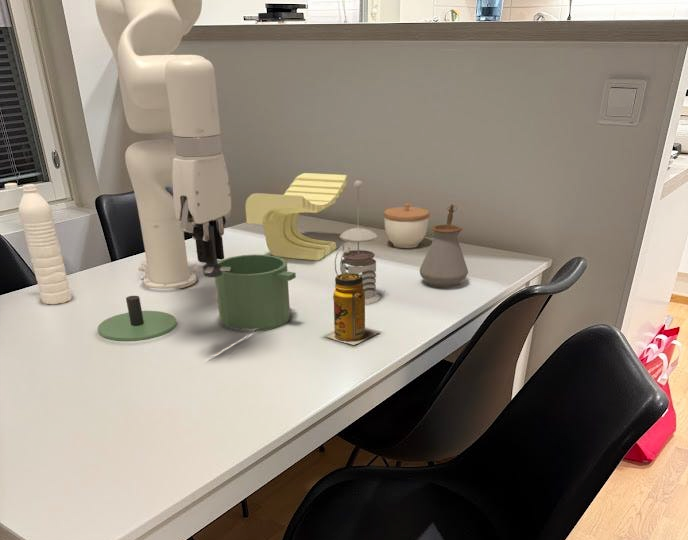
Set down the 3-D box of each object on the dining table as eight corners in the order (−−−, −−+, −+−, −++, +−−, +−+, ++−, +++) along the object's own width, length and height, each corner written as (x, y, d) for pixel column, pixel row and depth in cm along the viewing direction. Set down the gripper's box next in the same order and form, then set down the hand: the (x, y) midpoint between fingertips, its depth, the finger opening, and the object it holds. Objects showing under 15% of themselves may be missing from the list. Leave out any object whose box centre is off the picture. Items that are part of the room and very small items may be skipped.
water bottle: (77, 296, 158) (51, 181, 144) (62, 305, 152) (33, 187, 139) (43, 294, 159) (14, 181, 146) (27, 303, 154) (-5, 186, 141)
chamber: (275, 338, 134) (271, 281, 128) (196, 322, 142) (188, 267, 136) (313, 315, 145) (311, 261, 139) (237, 301, 153) (232, 249, 147)
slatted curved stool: (297, 236, 202) (294, 172, 192) (347, 240, 197) (346, 175, 187) (250, 263, 178) (244, 192, 169) (305, 269, 173) (302, 195, 164)
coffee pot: (465, 291, 157) (471, 224, 149) (416, 288, 159) (418, 222, 151) (471, 265, 174) (476, 204, 166) (426, 263, 176) (429, 203, 168)
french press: (389, 296, 154) (391, 179, 141) (354, 309, 147) (353, 188, 134) (357, 287, 160) (356, 174, 147) (322, 300, 153) (318, 182, 140)
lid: (140, 349, 130) (133, 315, 127) (82, 335, 137) (74, 303, 133) (192, 323, 142) (188, 291, 138) (136, 311, 148) (131, 281, 145)
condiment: (325, 337, 134) (323, 277, 128) (352, 325, 139) (352, 267, 133) (353, 346, 130) (353, 284, 124) (380, 333, 135) (381, 273, 129)
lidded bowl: (430, 250, 187) (432, 208, 181) (384, 251, 187) (384, 209, 181) (425, 238, 197) (427, 199, 192) (382, 239, 198) (383, 199, 192)
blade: (190, 280, 118) (184, 231, 114) (199, 268, 124) (193, 221, 119) (226, 280, 118) (221, 231, 114) (234, 269, 123) (229, 221, 119)
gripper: (210, 138, 117) (222, 246, 127) (146, 152, 105) (164, 269, 115) (246, 141, 114) (254, 251, 124) (184, 156, 102) (199, 276, 112)
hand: (211, 259), depth 120 cm, fingers closed on blade
